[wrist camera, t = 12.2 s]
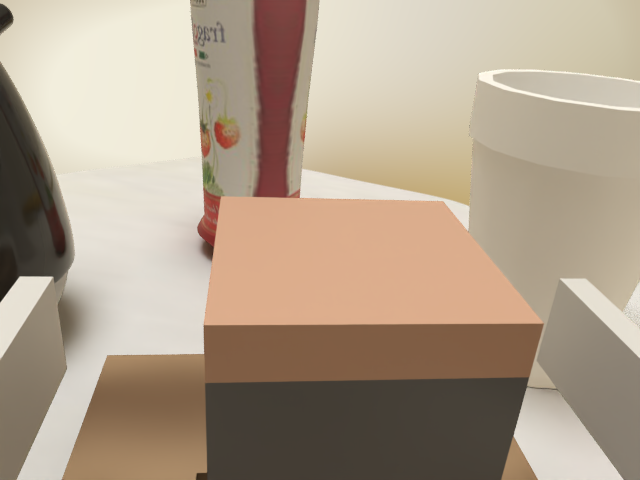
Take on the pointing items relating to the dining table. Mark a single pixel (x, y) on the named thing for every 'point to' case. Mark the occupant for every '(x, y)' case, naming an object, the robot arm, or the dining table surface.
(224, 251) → the grey tall block
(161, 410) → the socket plate
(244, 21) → the liquor
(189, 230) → the dining table surface
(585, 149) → the foam cup
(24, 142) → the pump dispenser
